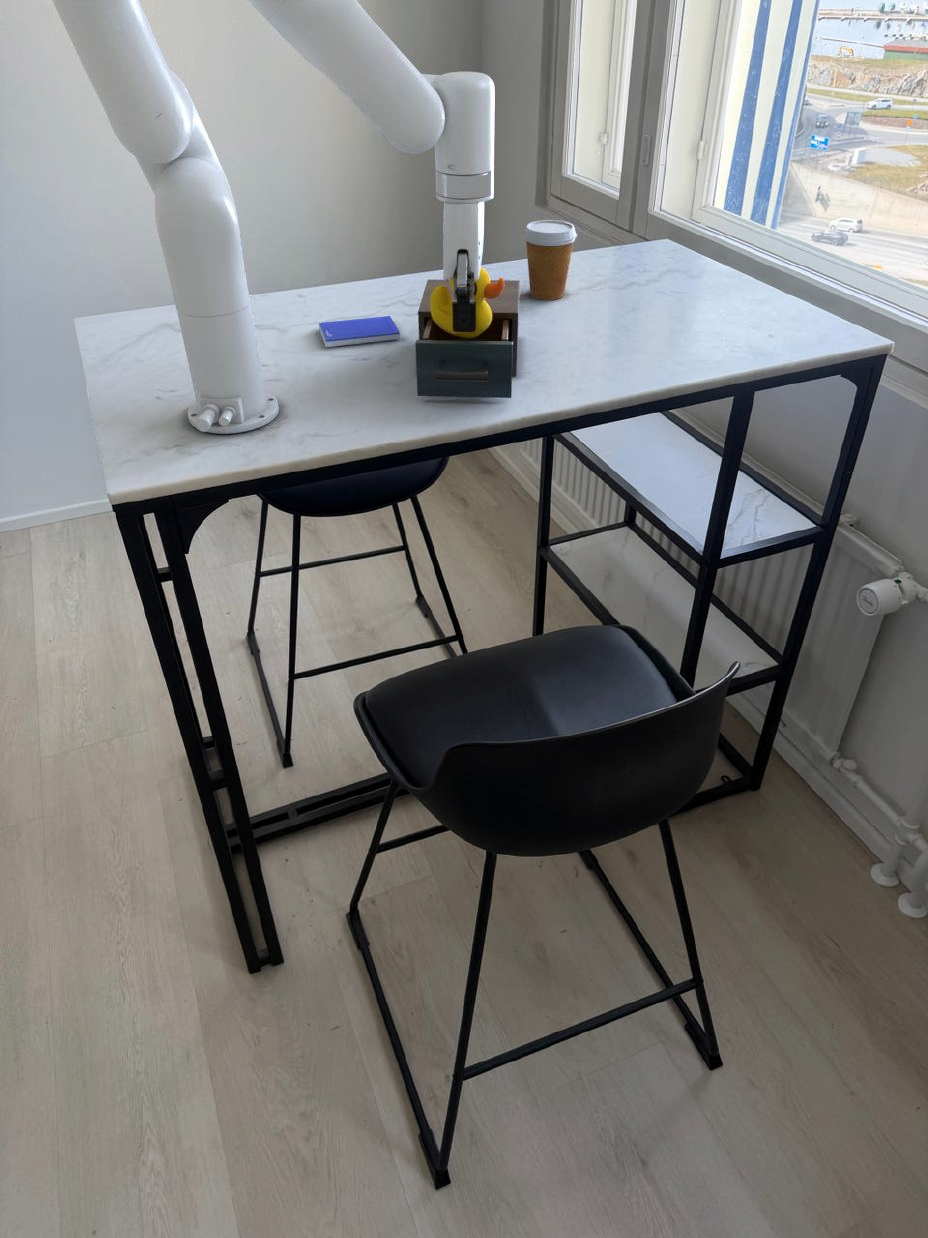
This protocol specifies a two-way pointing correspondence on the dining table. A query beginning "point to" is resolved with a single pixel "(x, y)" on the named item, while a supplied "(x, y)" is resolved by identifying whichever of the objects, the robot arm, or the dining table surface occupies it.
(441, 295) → the duckling
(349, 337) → the hard drive
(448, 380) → the drawer
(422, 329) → the cabinet
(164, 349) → the dining table surface
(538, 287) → the disposable coffee cup
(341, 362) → the dining table surface
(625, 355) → the dining table surface
